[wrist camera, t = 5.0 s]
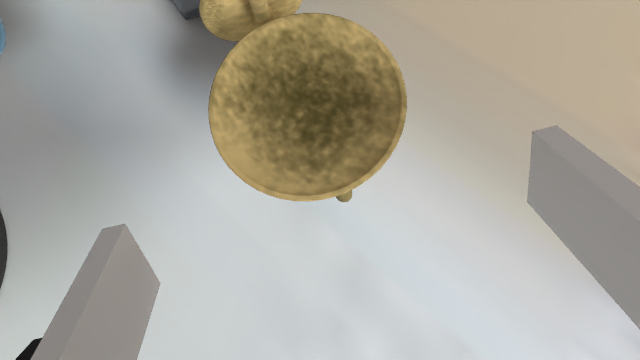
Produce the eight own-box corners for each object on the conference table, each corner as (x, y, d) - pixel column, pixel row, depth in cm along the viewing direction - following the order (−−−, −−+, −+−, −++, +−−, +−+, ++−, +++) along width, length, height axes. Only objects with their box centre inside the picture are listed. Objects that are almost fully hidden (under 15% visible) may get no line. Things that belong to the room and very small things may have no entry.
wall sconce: (217, 80, 32) (-200, -491, 8) (329, 29, 33) (255, -687, 8) (288, 246, 29) (-37, 145, 5) (412, 190, 30) (686, -181, 5)
